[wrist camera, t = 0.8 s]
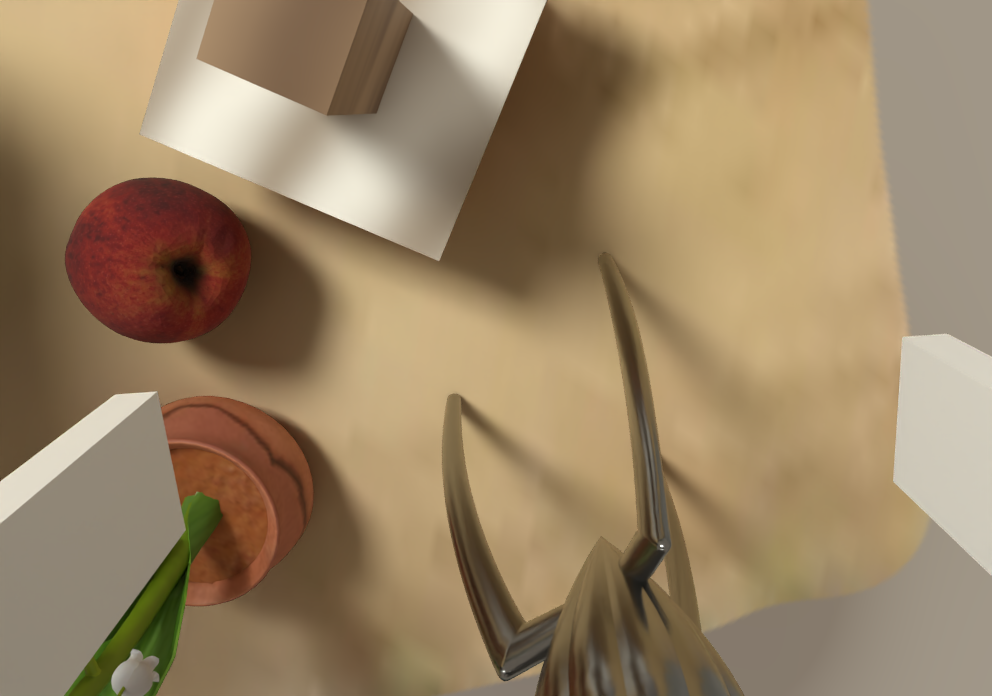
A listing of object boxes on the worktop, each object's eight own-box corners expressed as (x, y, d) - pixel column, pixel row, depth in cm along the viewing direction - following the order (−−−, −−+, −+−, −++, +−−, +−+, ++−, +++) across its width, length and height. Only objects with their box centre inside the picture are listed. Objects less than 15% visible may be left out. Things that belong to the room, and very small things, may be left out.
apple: (252, 341, 42) (192, 393, 34) (101, 294, 42) (7, 336, 34) (287, 201, 40) (232, 223, 32) (129, 150, 40) (36, 160, 32)
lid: (161, 132, 35) (7, 143, 25) (258, -188, 32) (127, -337, 21) (443, 252, 37) (413, 312, 26) (565, -45, 33) (589, -118, 22)
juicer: (444, 399, 43) (296, 1000, 14) (605, 249, 40) (826, 600, 12) (573, 522, 45) (678, 1282, 16) (734, 385, 42) (1204, 984, 13)
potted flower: (124, 344, 42) (-390, 655, 18) (319, 355, 42) (61, 681, 18) (140, 552, 46) (-277, 1046, 22) (321, 563, 46) (105, 1070, 22)
